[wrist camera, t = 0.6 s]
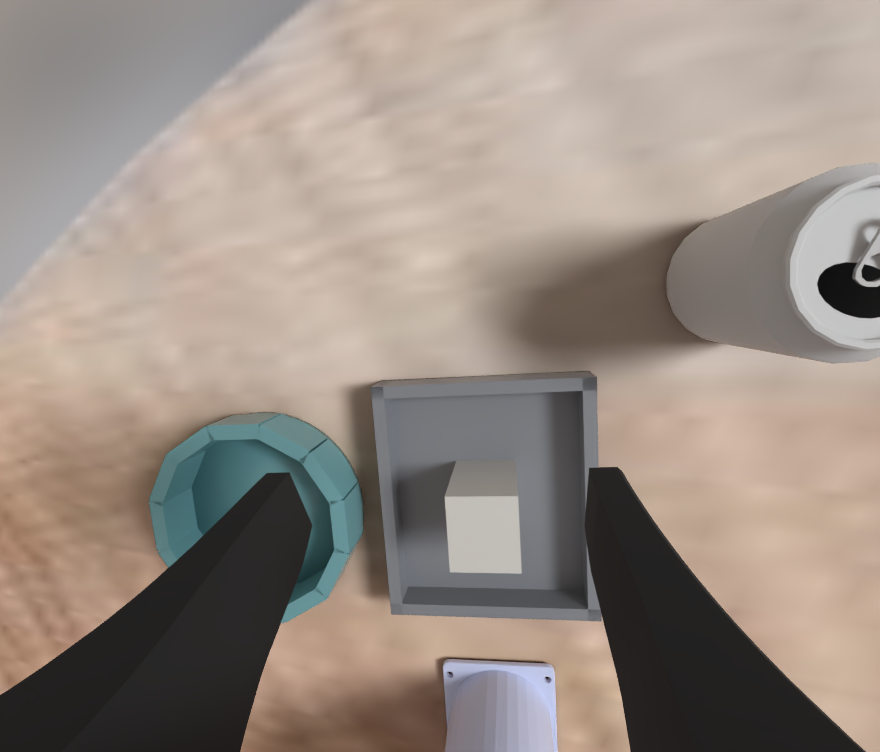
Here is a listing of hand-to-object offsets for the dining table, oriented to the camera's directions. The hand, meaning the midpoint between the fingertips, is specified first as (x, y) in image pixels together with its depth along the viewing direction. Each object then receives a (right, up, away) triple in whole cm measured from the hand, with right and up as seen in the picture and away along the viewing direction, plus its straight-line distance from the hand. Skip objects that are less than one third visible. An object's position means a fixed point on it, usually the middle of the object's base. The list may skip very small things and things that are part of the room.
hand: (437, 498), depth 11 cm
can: (+17, +9, +17) cm, 26 cm away
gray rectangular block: (+3, -5, +20) cm, 21 cm away
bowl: (-12, -7, +23) cm, 27 cm away
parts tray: (+3, -5, +21) cm, 21 cm away
